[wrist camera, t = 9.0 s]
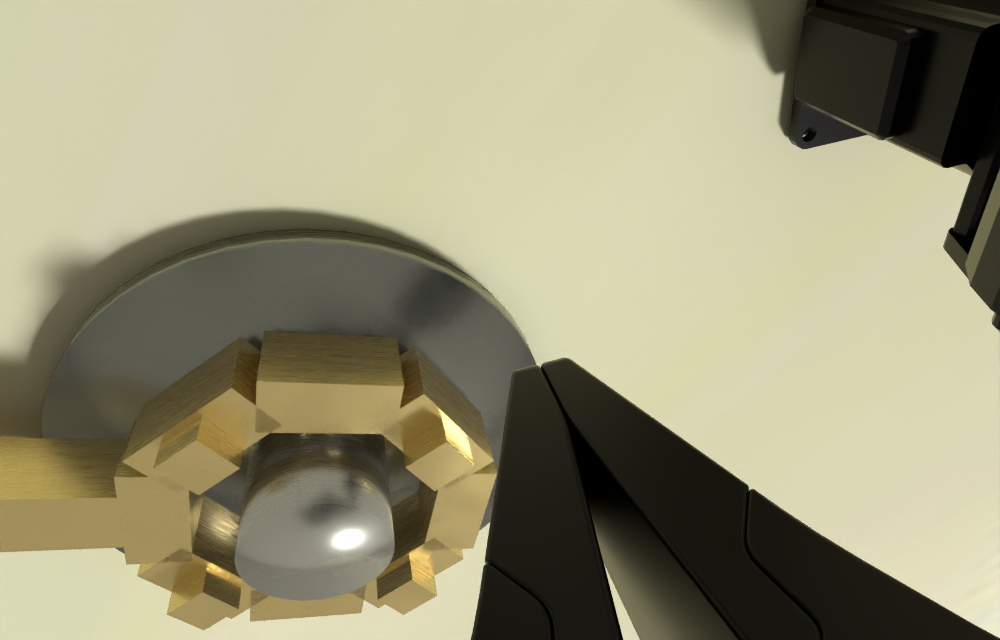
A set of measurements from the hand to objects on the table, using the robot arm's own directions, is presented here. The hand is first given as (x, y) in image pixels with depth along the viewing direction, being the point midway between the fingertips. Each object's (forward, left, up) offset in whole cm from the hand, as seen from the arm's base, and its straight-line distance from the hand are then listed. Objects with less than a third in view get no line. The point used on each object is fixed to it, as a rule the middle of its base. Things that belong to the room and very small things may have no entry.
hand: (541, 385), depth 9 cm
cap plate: (+7, +11, -12) cm, 18 cm away
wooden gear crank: (+11, +9, -10) cm, 18 cm away
